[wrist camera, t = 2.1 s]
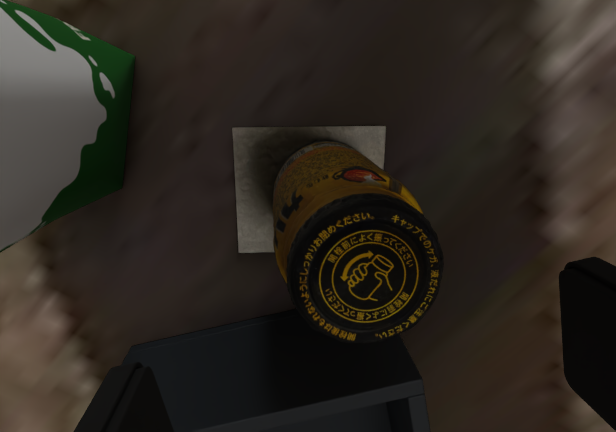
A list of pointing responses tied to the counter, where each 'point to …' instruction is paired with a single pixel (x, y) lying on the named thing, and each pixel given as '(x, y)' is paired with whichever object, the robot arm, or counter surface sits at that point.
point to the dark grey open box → (284, 380)
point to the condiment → (337, 228)
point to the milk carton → (57, 119)
